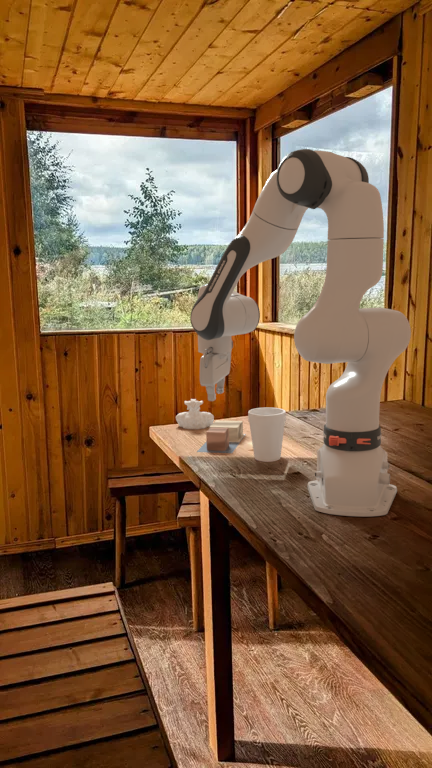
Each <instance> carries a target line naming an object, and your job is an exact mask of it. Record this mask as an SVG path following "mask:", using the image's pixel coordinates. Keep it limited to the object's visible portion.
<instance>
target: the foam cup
mask: <svg viewBox="0 0 432 768" xmlns="http://www.w3.org/2000/svg"><path fill="white" fill-rule="evenodd" d="M247 413H248V414H247V417H248V418H247V419H248V423H249V429H250V431H249V432H250V436H251V443H252V449H253V455H254V459H255V460H256V461H259V462H268V463H271V462H276V461H278V460H280V459H282V458H281V457H282V448H283V440H284V432H285V423H286V417H287V416H286V410H285V409H283V408H279V407H256V408H251V409H249V410H248V412H247Z"/></svg>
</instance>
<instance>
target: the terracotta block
mask: <svg viewBox="0 0 432 768" xmlns="http://www.w3.org/2000/svg"><path fill="white" fill-rule="evenodd" d="M205 434H206V441H207V450H214V451H225V450H226V449H227V448H228V447H229V428H210V427H209V428H208V430H206V432H205Z"/></svg>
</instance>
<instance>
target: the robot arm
mask: <svg viewBox="0 0 432 768" xmlns="http://www.w3.org/2000/svg"><path fill="white" fill-rule="evenodd" d="M369 181H370V180H369V173H368V170H367V169H366V167H365V166H364V165H363V164H362V163H361V162H359V161H358V160H357V159H354V158H353V157H350V156H344V155H340V154H337V153H335V152H331V151H326V150H314V149H310V148H302V149H297V150H293V151H291V152H289V153H287V154H286V155H285V156H284V157H283V158H282V160H281V161H280V163H279V165H278V167H277V169H276V170H274V171H273V172H271V174H270V175H269V177H268V178H267V180H266V181H265V184H264V185H263V187H262V189H261V190H260V193H259V195H258V197H257V198H256V199H257V200H256V202H255V204H254V207H253V209H252V212H251V214H250V217H249V218H248V220H247V222H246V223H245V225H244V226H243V228H242V230H241V231H240V232H239V233H238V234H237V236H235V238H234V239H232V240H231V241H230V242H229V244H228V245H227V247H226V249H225V251H224V252H223V254H222V256H221V258H220V259H219V262H218V263H217V265H216V267H215V269H214V271H213V274H212V276H211V277H210V280H209V281H208V283H206V284H204V285H201V286H200V287H199V288H198V289H199V290H198V294H197V300H196V301H195V303H194V304H193V306H192V308H191V311H190V315H189V316H190V323H191V326H192V329H193V330H194V332H195V333H196V334H197V348H198V349H197V352H198V353H201V354H202V355H201V357H200V359H199V384H200V386H201V387H205V390H206V393H207V401H209V402H214V401H216V399H217V397H216V396H217V394H218V395H219V394H220V395H221V394H223V393H224V392H225V390H224V389H225V388H224V387H225V381H226V376H228V375H229V374H230V371H231V366H232V365H231V362H232V349H233V348H234V341H233V339H232V336H237V335H238V336H239V335H246V334H249V333H252V332H254V331H255V330H256V329H257V327H258V326H259V323H260V321H261V320H260V319H261V312H260V311H261V310H260V307H259V305H258V303H257V301H256V300H255V299H254V298H252V296H251V297H250V296H246V295H244V294H241V293H239V292H237V291H235V289H236V287H237V285H238V282H240V279H241V277H242V276H243V275H244V274H245V273H246V272H248V271H249V270H250V269H251V268H253V267H255V266H257V265H259V264H262V263H264V262H267V261H269V260H272V259H275V258H278V257H279V256H281V255H282V254H284V253H285V252H286V251H287V250H288V248H289V247H290V246H291V244H292V243H293V241H294V239H295V237H296V235H297V232H298V229H299V228H300V225H301V223H302V220H303V218H304V215H305V213H306V211H307V210H308V209H311V210H316V209H321V210H322V211H323V212H324V213H325V215H326V218H327V249H326V250H327V253H326V270H325V277H324V281H323V286H322V288H321V291H320V294H319V296H318V297H317V300H315V303H314V304H313V306H312V307H311V308H310V309H309V310H308V311H307V312H306V313H305V314H303V316H301V318H300V319H299V320H298V322H297V323H296V326H295V329H294V331H293V333H294V335H293V342H294V345H295V346H294V347H295V348H296V350H297V352H298V354H299V355H300V357H302V359H303V360H305V361H307V362H311V363H316V364H317V363H319V364H326V365H327V364H329V365H330V364H340V363H347V364H346V367H345V369H344V371H343V373H342V374H341V375H340V377H339V378H337V379H336V380H335V381H333V382H332V383H330V385H329V386H328V388H327V390H326V393H325V424H324V425H323V431H322V437H323V445H322V446H321V447H319V449H317V451H316V454H317V455H316V458H317V459H316V471H315V472H314V477H315V478H316V479H315V480H310V481H308V483H307V490H308V493H309V497H310V498H311V503H312V505H313V507H314V511H316V512H321V513H324V514H329V515H335V516H346V517H380V516H385V515H388V514H389V510H391V509H390V508H391V506H392V504H393V501H394V499H395V497H396V494H397V492H398V488H397V486H396V485H394V484H390V483H391V474H390V473H388V470H389V469H390V463H389V462H388V452H387V451H386V450H385V449H383V448H382V446H381V445H382V427H381V426H380V407H381V403H380V402H381V393H382V388H383V385H384V381H385V379H386V377H387V374H388V373H389V370H390V368H391V366H392V365H393V364H394V362H395V361H396V359H397V358H398V357H400V355H401V354H402V353H403V352H405V351H406V350H407V348H408V346H409V344H410V341H411V337H412V331H411V330H412V329H411V324H410V322H409V320H408V317H407V316H406V315H405V314H404V313H403V312H401V311H399V310H395V309H393V308H392V309H391V308H384V307H365V308H364V307H363V308H361V307H360V306H361V305H360V304H361V301H362V299H363V298H364V296H365V294H366V292H368V291H369V290H370V289H372V288H373V287H375V286H376V285H377V284H379V282H380V281H381V278H382V276H383V272H384V271H383V270H384V269H383V268H384V267H383V265H384V243H385V241H384V236H385V234H384V233H385V232H384V231H385V227H384V225H385V224H384V212H383V203H382V198H381V197H382V196H381V193H380V191H379V189H378V188H377V187H376V186H375V185H374V184H372V183H369Z"/></svg>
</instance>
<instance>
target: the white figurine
mask: <svg viewBox="0 0 432 768" xmlns="http://www.w3.org/2000/svg"><path fill="white" fill-rule="evenodd" d="M183 403H184V405H186V407H187V408H186V410H188V411H183V412H180V413H177V415H176V416H175V420H176V422H177V424H178V426H179V427H180V428H183V429H186V430H200V429H201V430H202V429H206V428H210V426H211V425H212V424H213V423H214V422H215V421H214V420H215V419H214V418H215V416H214V414H212V413H211V412H209V411H208V412H207V411H200V410H201V407H200V406H201V405H203V404H204V400H200V401H199V400H197V398H190V400H184V402H183Z"/></svg>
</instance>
